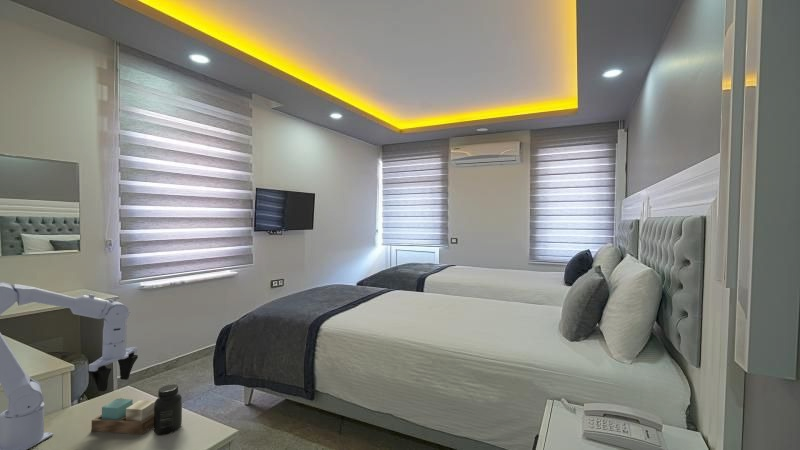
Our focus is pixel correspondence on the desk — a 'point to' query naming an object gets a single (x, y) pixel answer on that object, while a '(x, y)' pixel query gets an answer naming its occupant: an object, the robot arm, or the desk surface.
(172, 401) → the supplement bottle
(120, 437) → the desk surface
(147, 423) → the walnut puzzle board
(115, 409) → the teal block
